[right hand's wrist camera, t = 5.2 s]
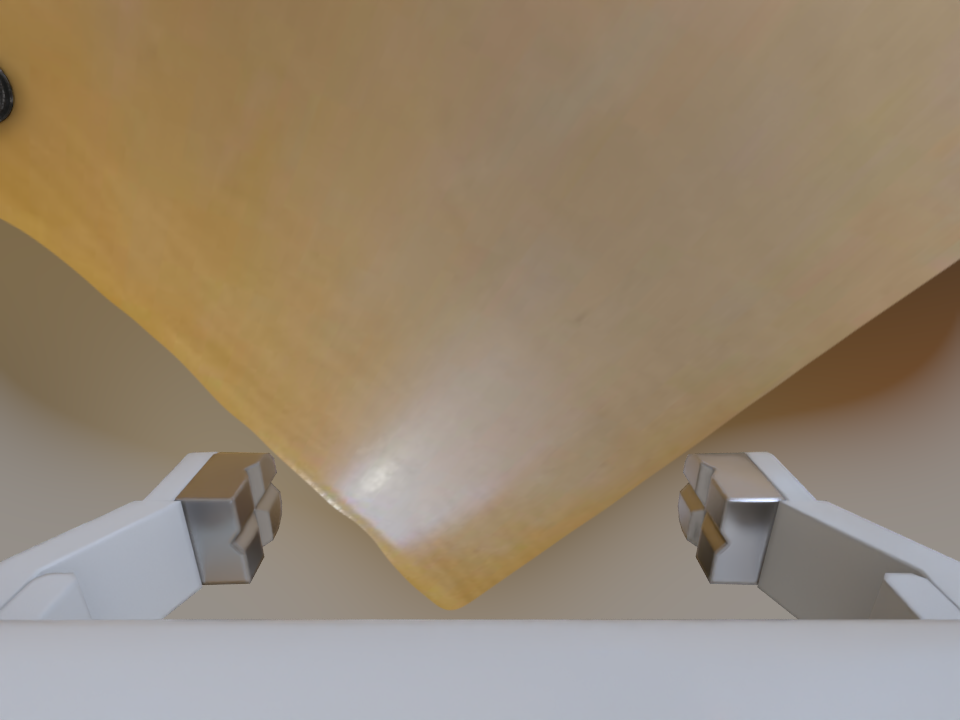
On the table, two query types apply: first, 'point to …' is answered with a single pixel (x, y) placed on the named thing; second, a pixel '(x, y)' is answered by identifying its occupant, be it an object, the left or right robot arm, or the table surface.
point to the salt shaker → (5, 97)
